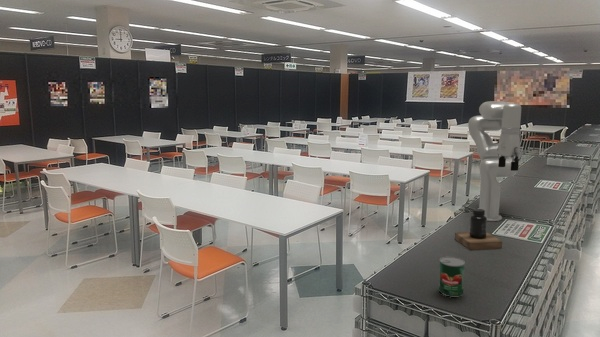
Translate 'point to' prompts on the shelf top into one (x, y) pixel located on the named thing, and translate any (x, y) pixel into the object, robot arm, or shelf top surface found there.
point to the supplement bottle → (478, 224)
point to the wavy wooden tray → (478, 241)
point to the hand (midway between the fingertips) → (507, 168)
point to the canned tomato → (451, 276)
